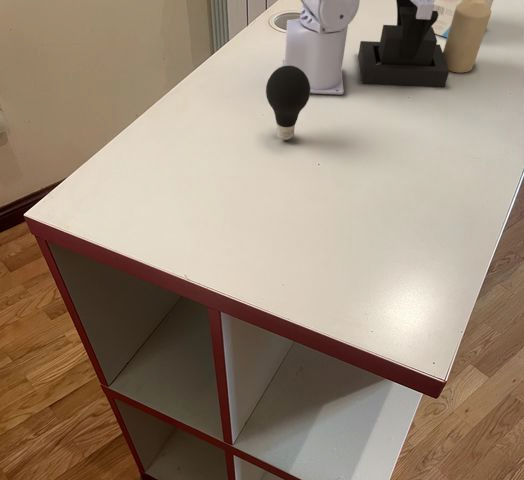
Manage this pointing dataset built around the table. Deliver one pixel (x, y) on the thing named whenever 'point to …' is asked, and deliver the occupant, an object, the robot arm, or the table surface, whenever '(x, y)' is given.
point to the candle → (466, 34)
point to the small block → (392, 44)
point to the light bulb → (287, 97)
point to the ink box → (446, 15)
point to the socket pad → (401, 69)
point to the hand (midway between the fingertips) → (404, 50)
